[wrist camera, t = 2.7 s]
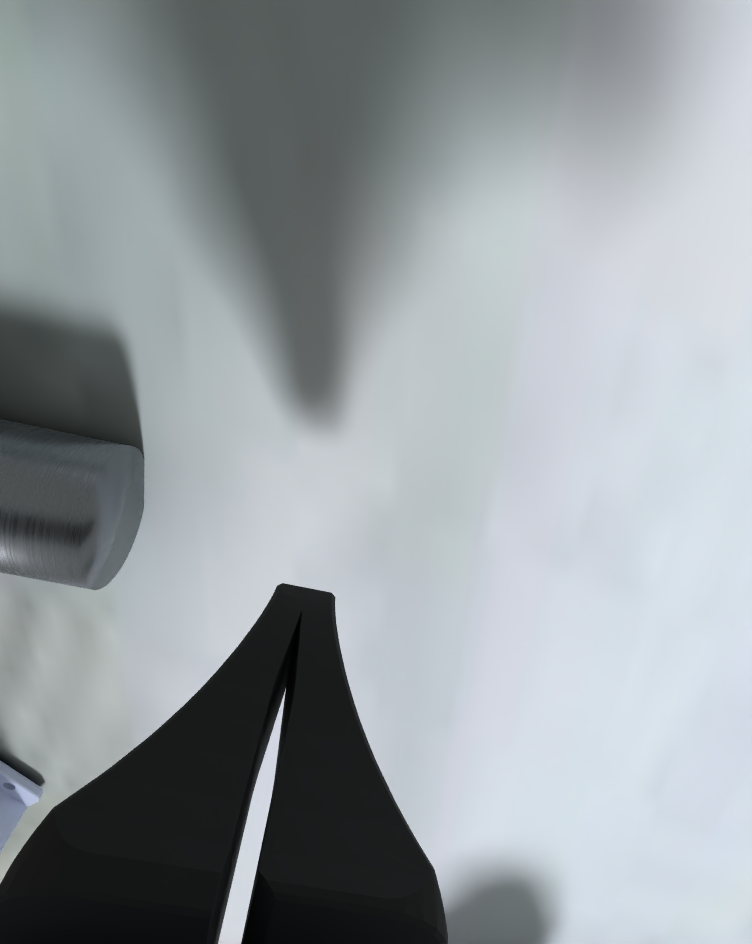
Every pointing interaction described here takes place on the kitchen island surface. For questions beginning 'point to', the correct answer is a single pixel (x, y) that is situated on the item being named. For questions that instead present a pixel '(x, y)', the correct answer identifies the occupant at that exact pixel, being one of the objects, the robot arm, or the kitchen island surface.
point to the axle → (67, 505)
